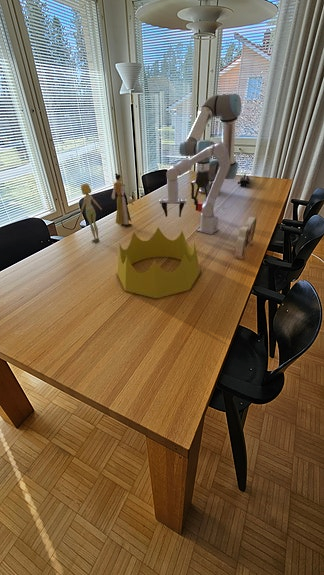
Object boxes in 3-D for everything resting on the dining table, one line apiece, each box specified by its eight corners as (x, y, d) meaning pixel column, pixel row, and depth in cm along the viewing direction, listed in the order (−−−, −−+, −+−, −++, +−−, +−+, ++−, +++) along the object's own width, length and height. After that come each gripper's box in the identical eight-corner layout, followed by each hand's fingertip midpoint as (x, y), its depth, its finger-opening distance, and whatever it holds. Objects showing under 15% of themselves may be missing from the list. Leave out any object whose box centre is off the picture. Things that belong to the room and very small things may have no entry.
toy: (240, 179, 245) (237, 186, 221) (241, 173, 242) (238, 180, 219) (251, 179, 242) (249, 186, 218) (251, 174, 240) (249, 180, 216)
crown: (123, 254, 130) (119, 225, 122) (197, 252, 128) (198, 223, 120) (109, 299, 101) (102, 265, 92) (204, 297, 99) (206, 262, 90)
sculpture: (103, 236, 150) (93, 180, 132) (108, 238, 147) (98, 181, 130) (83, 243, 142) (70, 186, 125) (88, 246, 140) (75, 187, 122)
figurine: (140, 227, 158) (135, 173, 141) (129, 231, 153) (122, 176, 136) (119, 219, 169) (112, 169, 152) (109, 224, 164) (100, 172, 147)
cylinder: (205, 211, 165) (205, 203, 162) (197, 211, 165) (197, 203, 162) (205, 209, 169) (205, 201, 166) (197, 209, 169) (197, 201, 166)
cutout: (244, 233, 111) (258, 210, 128) (237, 232, 113) (252, 210, 129) (240, 263, 121) (254, 238, 137) (234, 262, 122) (248, 237, 138)
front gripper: (186, 189, 143) (186, 214, 151) (160, 189, 146) (161, 213, 153) (185, 193, 138) (185, 218, 145) (158, 193, 140) (159, 218, 148)
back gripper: (186, 172, 152) (186, 211, 166) (218, 172, 148) (215, 212, 162) (188, 169, 158) (187, 207, 172) (218, 169, 154) (216, 208, 168)
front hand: (173, 216), depth 149 cm, fingers open, 7 cm apart
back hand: (201, 210), depth 167 cm, fingers closed on cylinder, 5 cm apart
